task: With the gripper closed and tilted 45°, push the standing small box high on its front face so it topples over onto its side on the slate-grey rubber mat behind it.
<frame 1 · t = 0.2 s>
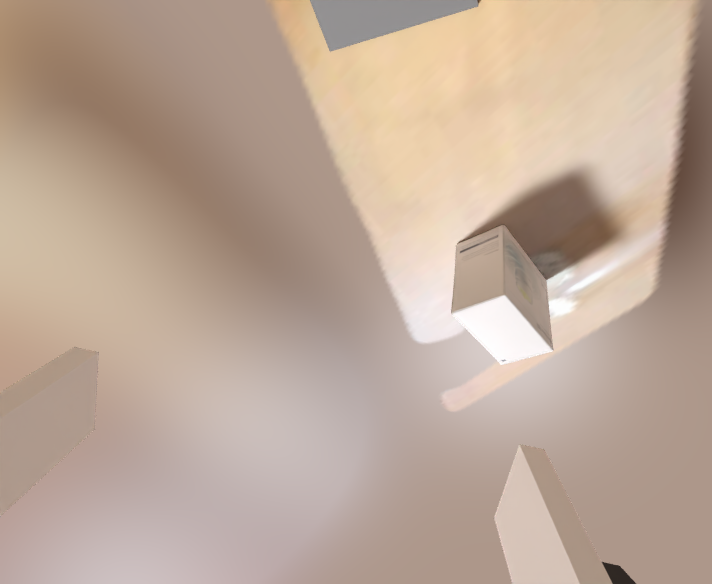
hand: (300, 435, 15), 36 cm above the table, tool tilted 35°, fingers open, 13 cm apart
skincare box: (502, 260, 57), on the table
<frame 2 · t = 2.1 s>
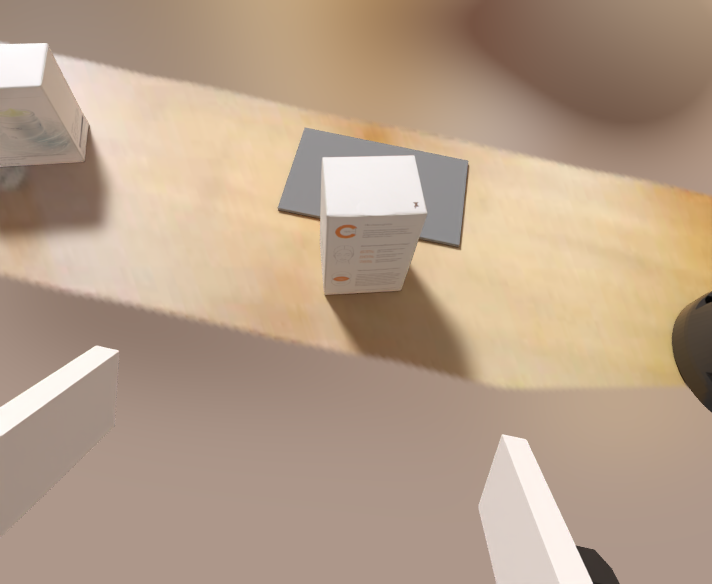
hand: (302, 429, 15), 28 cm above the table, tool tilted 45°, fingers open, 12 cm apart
skincare box: (39, 147, 55), on the table
small box: (359, 268, 51), on the table
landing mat: (377, 185, 56), on the table
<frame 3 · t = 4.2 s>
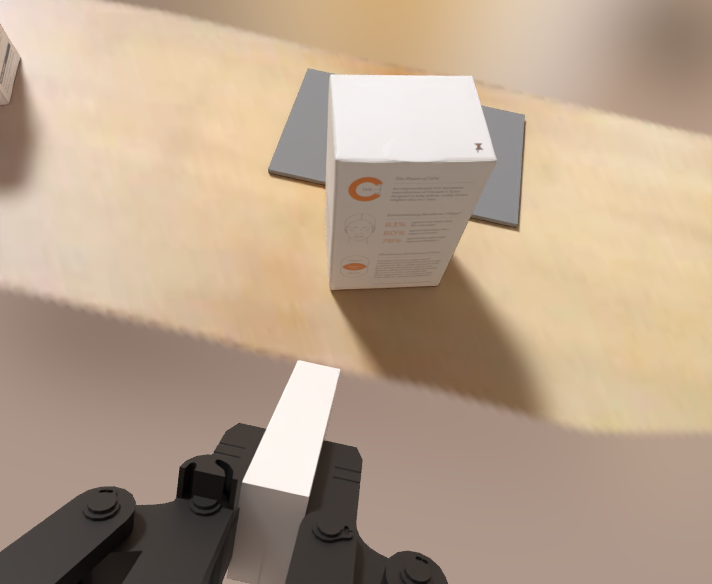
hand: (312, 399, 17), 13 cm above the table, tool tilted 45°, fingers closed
small box: (379, 253, 36), on the table
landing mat: (403, 143, 41), on the table
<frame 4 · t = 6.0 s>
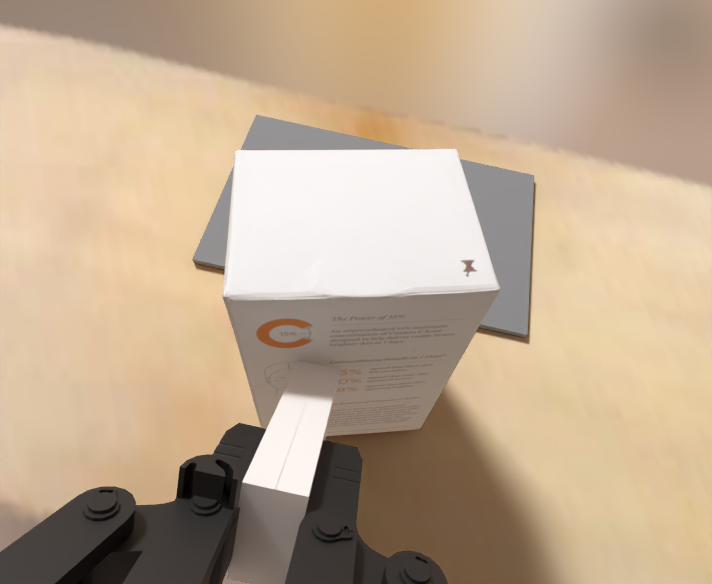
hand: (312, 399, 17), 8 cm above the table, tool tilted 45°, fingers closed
small box: (339, 379, 26), on the table, touching gripper
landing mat: (377, 217, 32), on the table
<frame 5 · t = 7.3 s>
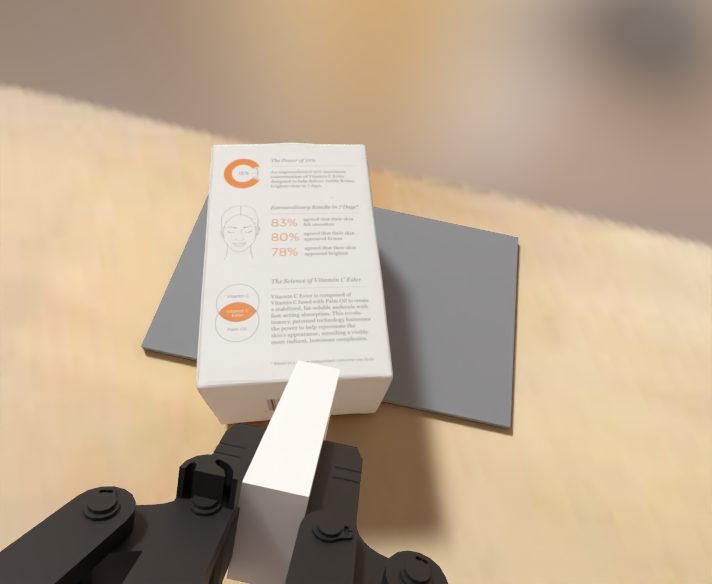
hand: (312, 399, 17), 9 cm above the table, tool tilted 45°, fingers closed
small box: (298, 409, 22), point 3 cm above the table, touching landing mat
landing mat: (347, 289, 29), on the table
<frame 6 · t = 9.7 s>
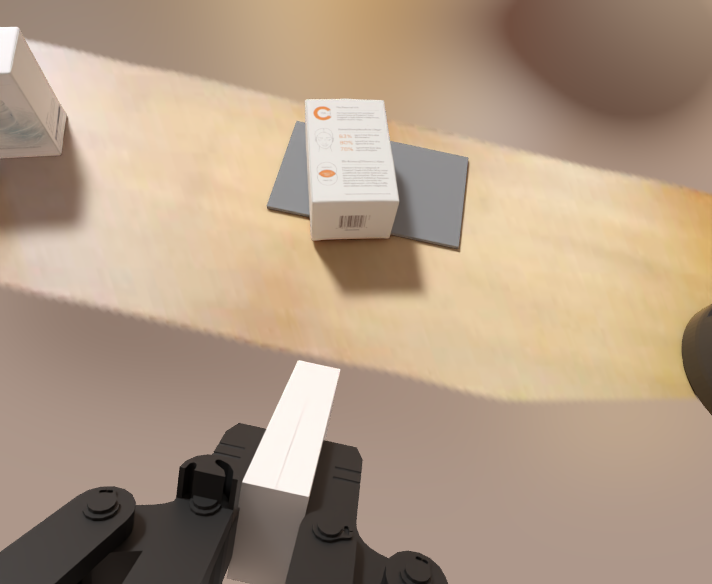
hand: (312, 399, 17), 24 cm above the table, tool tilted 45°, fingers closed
skincare box: (13, 139, 51), on the table
small box: (353, 224, 46), point 3 cm above the table, touching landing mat
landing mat: (372, 182, 53), on the table
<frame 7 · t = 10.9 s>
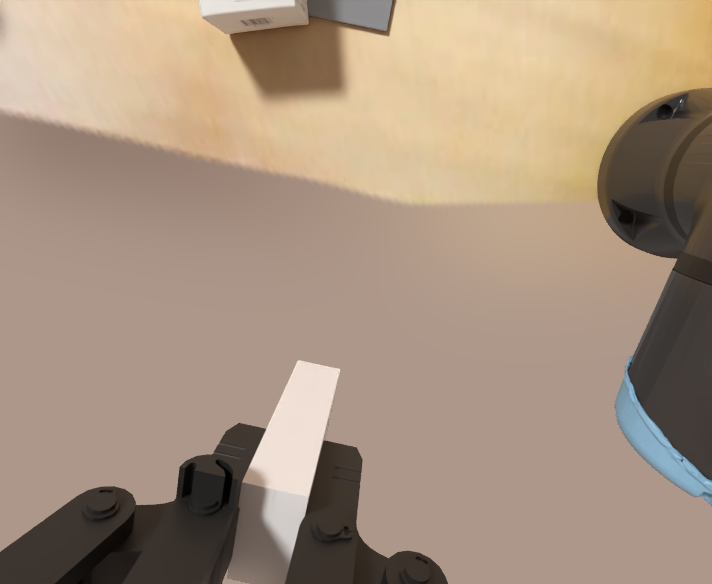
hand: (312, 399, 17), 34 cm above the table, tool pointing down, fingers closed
small box: (258, 25, 42), point 3 cm above the table, touching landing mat
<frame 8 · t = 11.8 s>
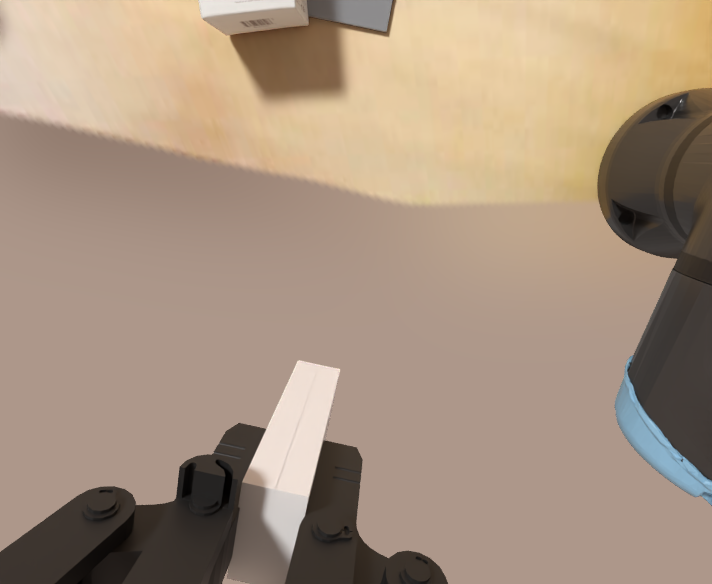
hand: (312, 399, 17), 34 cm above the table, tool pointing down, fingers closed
small box: (258, 26, 42), point 3 cm above the table, touching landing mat
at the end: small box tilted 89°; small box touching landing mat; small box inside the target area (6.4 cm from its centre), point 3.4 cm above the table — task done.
